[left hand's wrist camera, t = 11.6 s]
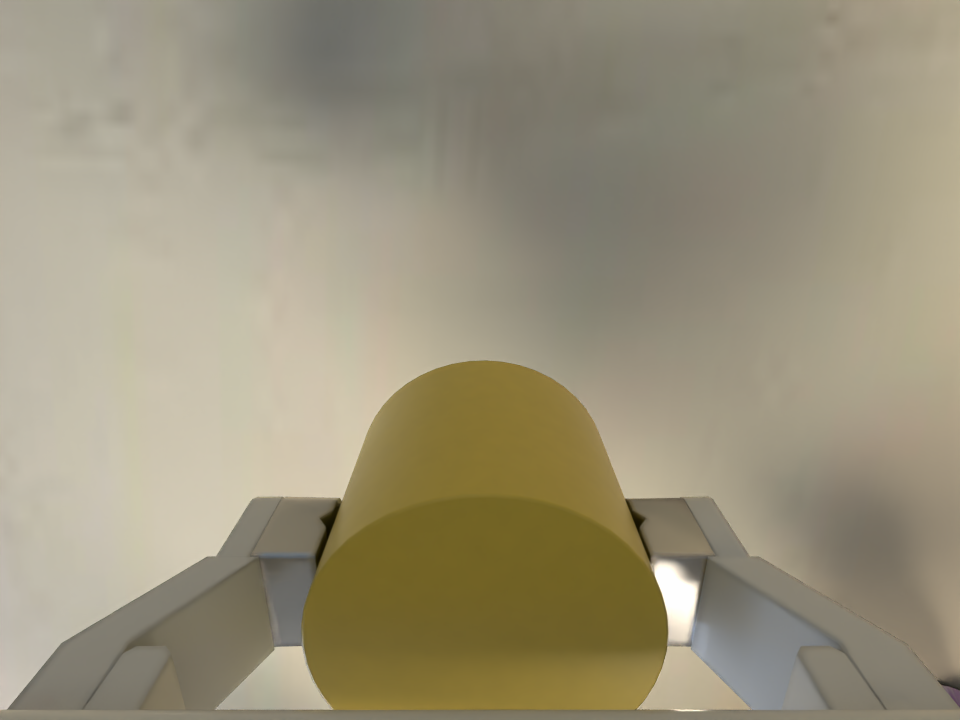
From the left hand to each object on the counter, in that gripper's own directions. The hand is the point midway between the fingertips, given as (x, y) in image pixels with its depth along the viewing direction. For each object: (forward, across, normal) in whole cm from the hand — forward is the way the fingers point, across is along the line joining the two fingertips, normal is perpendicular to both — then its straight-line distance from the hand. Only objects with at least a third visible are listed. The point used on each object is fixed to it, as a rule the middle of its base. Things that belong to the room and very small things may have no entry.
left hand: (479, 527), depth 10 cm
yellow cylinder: (+2, 0, 0) cm, 2 cm away
